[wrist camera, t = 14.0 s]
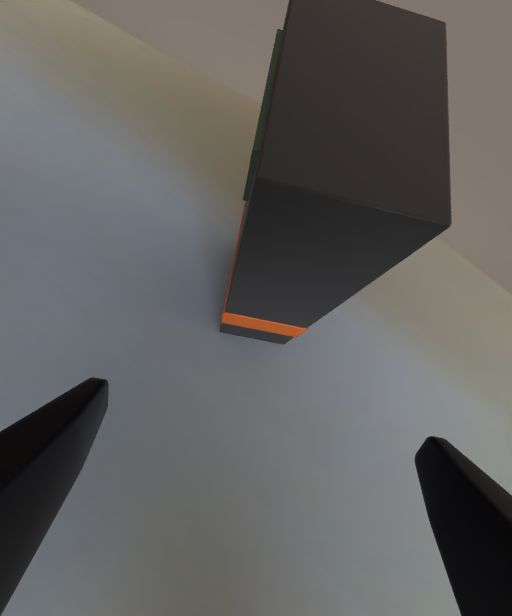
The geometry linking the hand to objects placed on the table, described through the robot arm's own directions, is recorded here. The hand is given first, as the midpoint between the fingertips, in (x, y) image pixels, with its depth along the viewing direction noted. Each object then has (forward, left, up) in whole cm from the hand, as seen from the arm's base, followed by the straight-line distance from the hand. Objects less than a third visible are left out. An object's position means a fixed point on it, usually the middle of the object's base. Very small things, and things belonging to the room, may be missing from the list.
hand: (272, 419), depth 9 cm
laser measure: (+2, +6, -8) cm, 10 cm away
